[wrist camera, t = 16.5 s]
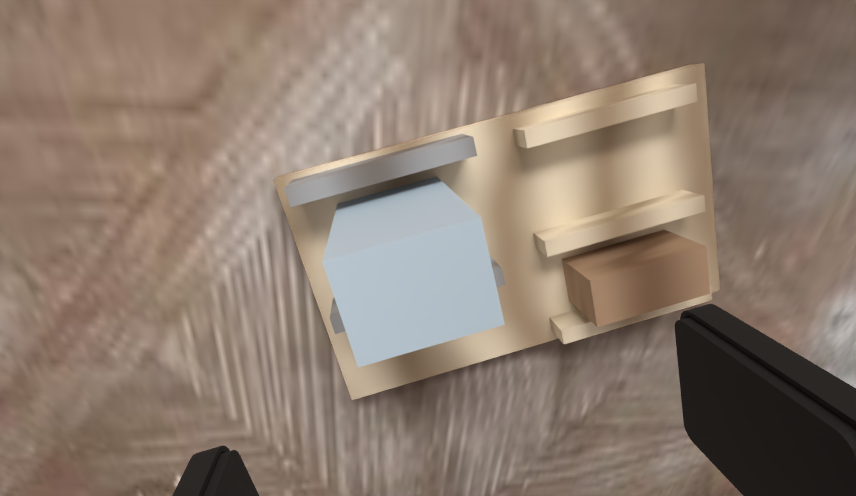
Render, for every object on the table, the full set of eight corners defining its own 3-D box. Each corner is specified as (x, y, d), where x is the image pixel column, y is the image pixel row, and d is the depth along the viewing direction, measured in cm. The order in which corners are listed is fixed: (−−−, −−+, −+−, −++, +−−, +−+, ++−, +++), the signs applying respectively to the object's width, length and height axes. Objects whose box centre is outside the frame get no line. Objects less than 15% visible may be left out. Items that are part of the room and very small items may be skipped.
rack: (687, 65, 30) (742, 57, 25) (704, 282, 34) (753, 307, 30) (277, 176, 28) (262, 189, 24) (352, 387, 33) (350, 429, 29)
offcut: (664, 229, 31) (706, 246, 27) (668, 271, 32) (710, 293, 28) (561, 259, 31) (590, 280, 27) (568, 300, 32) (597, 327, 28)
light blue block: (437, 176, 28) (481, 217, 18) (454, 247, 29) (504, 324, 19) (337, 203, 28) (322, 262, 17) (359, 273, 29) (357, 367, 19)
